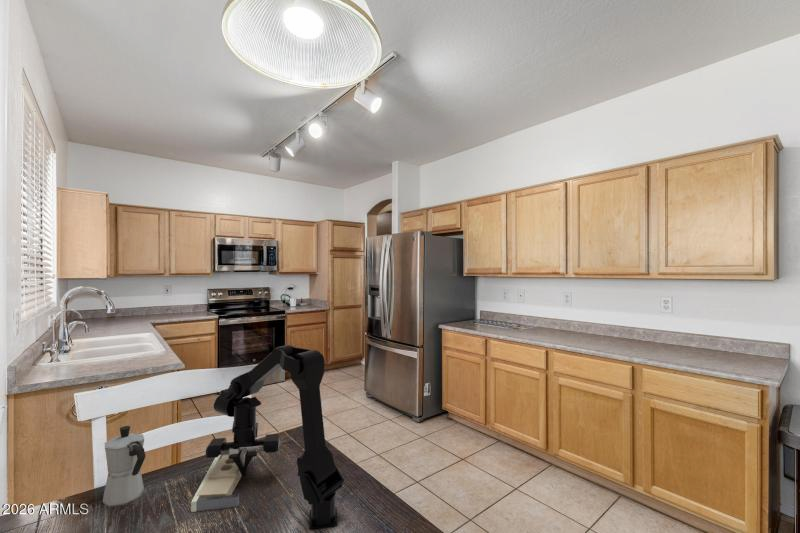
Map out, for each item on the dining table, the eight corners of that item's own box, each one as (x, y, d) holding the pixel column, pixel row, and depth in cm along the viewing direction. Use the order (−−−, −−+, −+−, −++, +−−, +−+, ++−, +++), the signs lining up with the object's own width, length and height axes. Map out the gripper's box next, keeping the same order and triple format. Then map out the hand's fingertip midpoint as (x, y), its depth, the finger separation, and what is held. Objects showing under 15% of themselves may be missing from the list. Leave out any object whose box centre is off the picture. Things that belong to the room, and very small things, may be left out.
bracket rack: (237, 506, 92) (237, 496, 92) (190, 512, 90) (191, 501, 90) (253, 459, 115) (253, 451, 115) (216, 463, 112) (216, 455, 112)
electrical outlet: (196, 491, 92) (222, 455, 110) (196, 507, 92) (222, 468, 110) (226, 489, 93) (247, 454, 111) (226, 506, 93) (247, 467, 111)
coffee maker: (91, 497, 95) (92, 428, 95) (129, 480, 103) (130, 416, 103) (121, 517, 88) (123, 441, 88) (160, 496, 96) (161, 427, 96)
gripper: (282, 407, 113) (281, 457, 113) (216, 411, 109) (216, 463, 109) (278, 422, 102) (277, 478, 102) (205, 427, 98) (204, 485, 98)
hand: (244, 475), depth 103 cm, fingers closed
